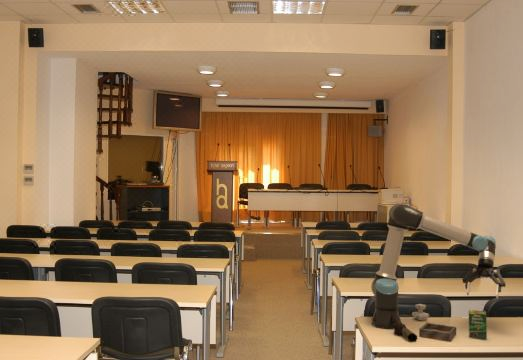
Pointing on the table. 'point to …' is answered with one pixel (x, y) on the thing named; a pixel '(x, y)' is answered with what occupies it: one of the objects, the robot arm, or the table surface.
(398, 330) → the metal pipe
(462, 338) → the table surface
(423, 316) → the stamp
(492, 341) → the table surface
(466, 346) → the table surface
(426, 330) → the gray square frame
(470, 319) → the coffee box
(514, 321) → the table surface
